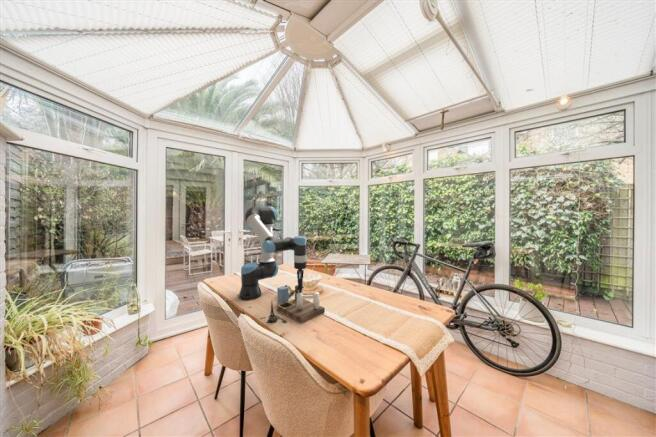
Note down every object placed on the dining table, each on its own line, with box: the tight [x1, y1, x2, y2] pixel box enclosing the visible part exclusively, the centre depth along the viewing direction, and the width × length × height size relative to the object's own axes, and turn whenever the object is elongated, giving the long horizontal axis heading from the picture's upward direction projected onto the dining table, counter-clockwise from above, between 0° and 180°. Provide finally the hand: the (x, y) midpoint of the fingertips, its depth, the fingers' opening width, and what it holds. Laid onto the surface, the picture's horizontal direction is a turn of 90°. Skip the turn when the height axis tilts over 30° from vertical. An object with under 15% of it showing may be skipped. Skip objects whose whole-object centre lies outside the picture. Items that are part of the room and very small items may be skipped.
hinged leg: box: [297, 291, 320, 310], centre depth 143 cm, size 14×4×9 cm, turn 93°
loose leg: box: [276, 285, 289, 305], centre depth 157 cm, size 5×5×11 cm
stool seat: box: [276, 284, 326, 324], centre depth 146 cm, size 24×18×12 cm
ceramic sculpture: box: [284, 284, 295, 298], centre depth 171 cm, size 11×9×15 cm
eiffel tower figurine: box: [259, 300, 288, 324], centre depth 135 cm, size 15×10×13 cm
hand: (300, 299), depth 147 cm, fingers closed
